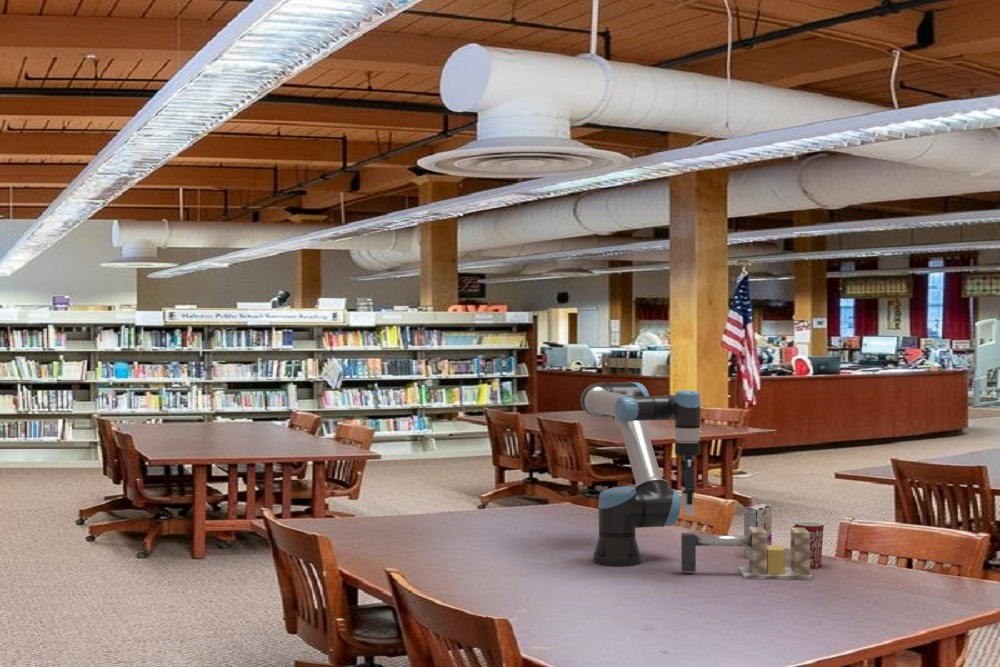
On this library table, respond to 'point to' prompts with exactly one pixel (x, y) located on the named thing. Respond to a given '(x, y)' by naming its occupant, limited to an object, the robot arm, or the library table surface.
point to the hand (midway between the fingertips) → (687, 511)
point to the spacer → (775, 559)
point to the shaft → (692, 540)
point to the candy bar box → (757, 521)
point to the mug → (813, 540)
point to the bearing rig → (759, 556)
